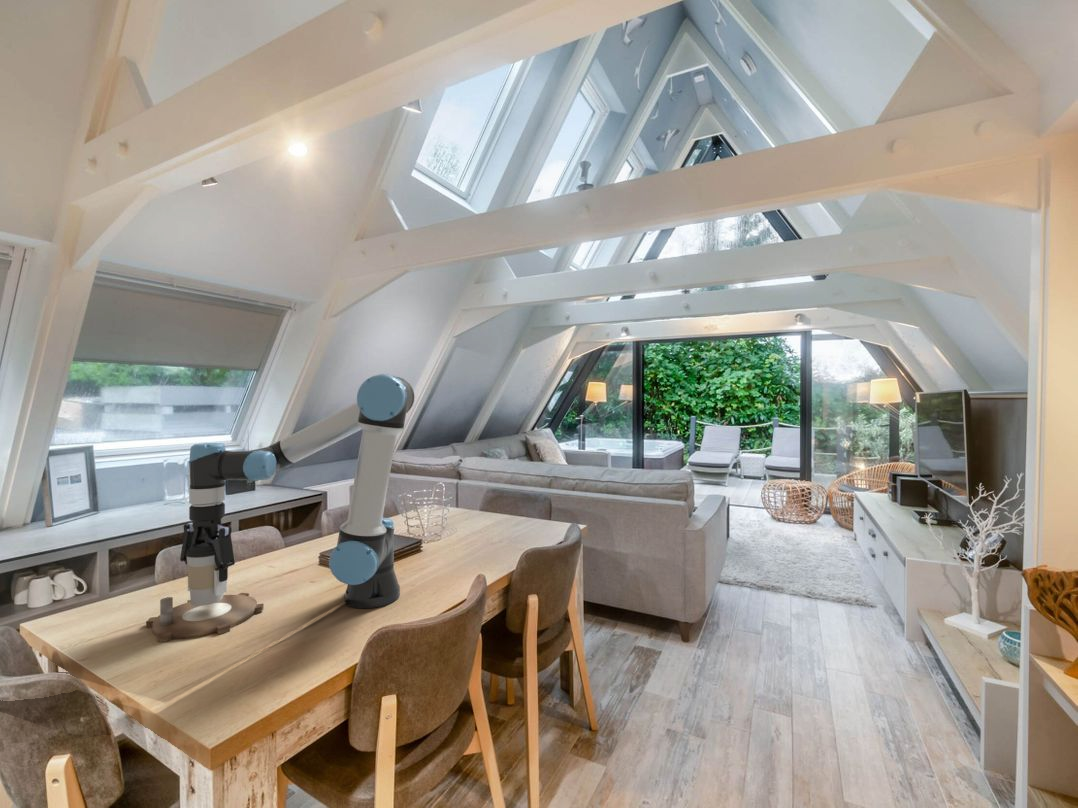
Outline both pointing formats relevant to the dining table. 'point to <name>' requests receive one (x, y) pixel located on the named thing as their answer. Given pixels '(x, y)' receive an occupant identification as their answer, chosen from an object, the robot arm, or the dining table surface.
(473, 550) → the dining table surface
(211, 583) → the coffee cup
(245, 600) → the index disc
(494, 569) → the dining table surface
